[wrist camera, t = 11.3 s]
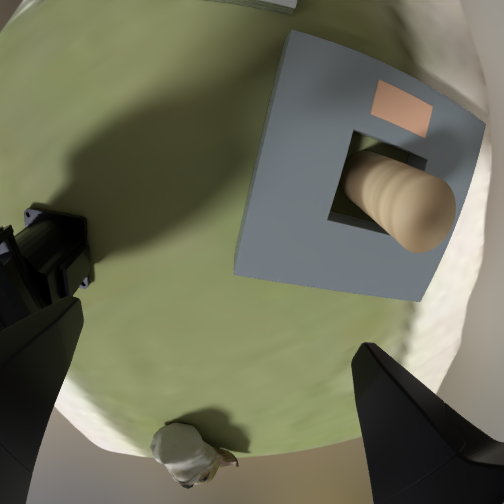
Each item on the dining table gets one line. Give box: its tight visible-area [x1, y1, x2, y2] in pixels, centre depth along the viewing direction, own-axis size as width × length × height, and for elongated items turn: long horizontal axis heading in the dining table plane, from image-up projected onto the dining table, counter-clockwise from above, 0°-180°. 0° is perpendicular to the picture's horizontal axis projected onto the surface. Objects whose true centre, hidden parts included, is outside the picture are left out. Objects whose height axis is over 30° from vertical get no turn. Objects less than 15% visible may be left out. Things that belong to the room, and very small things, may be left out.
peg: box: [340, 151, 456, 253], centre depth 16 cm, size 4×4×8 cm
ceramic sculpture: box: [150, 423, 239, 488], centre depth 31 cm, size 11×9×15 cm
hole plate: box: [234, 30, 486, 302], centre depth 18 cm, size 16×16×3 cm
